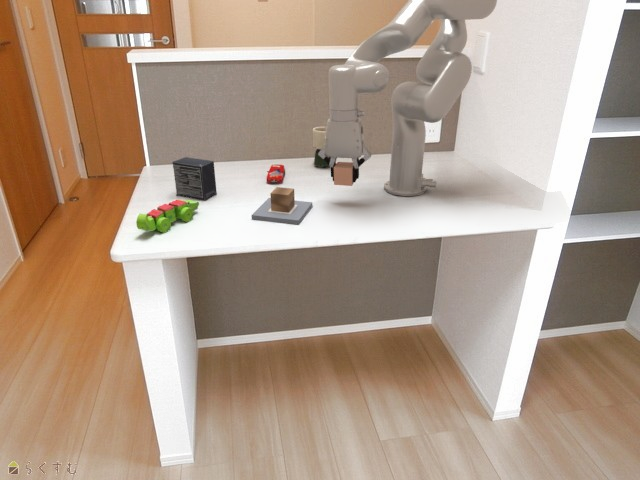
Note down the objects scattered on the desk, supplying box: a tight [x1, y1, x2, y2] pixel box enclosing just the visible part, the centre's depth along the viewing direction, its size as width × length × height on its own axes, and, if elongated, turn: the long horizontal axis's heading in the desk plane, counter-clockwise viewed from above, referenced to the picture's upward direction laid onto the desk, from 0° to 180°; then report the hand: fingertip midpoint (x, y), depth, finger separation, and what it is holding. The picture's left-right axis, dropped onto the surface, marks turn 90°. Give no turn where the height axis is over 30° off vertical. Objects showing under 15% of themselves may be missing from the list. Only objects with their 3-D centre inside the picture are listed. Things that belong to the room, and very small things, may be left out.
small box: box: [172, 156, 218, 202], centre depth 146 cm, size 11×6×10 cm, turn 65°
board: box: [251, 197, 313, 225], centre depth 136 cm, size 13×13×1 cm
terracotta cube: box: [333, 161, 354, 187], centre depth 138 cm, size 5×5×5 cm
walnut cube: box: [269, 186, 296, 213], centre depth 134 cm, size 5×5×5 cm
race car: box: [266, 164, 286, 185], centre depth 161 cm, size 13×5×4 cm, turn 177°
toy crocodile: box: [136, 199, 200, 233], centre depth 128 cm, size 20×7×6 cm, turn 149°
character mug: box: [312, 126, 331, 168], centre depth 170 cm, size 11×7×13 cm, turn 14°
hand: (344, 179), depth 139 cm, fingers closed on terracotta cube, 4 cm apart
